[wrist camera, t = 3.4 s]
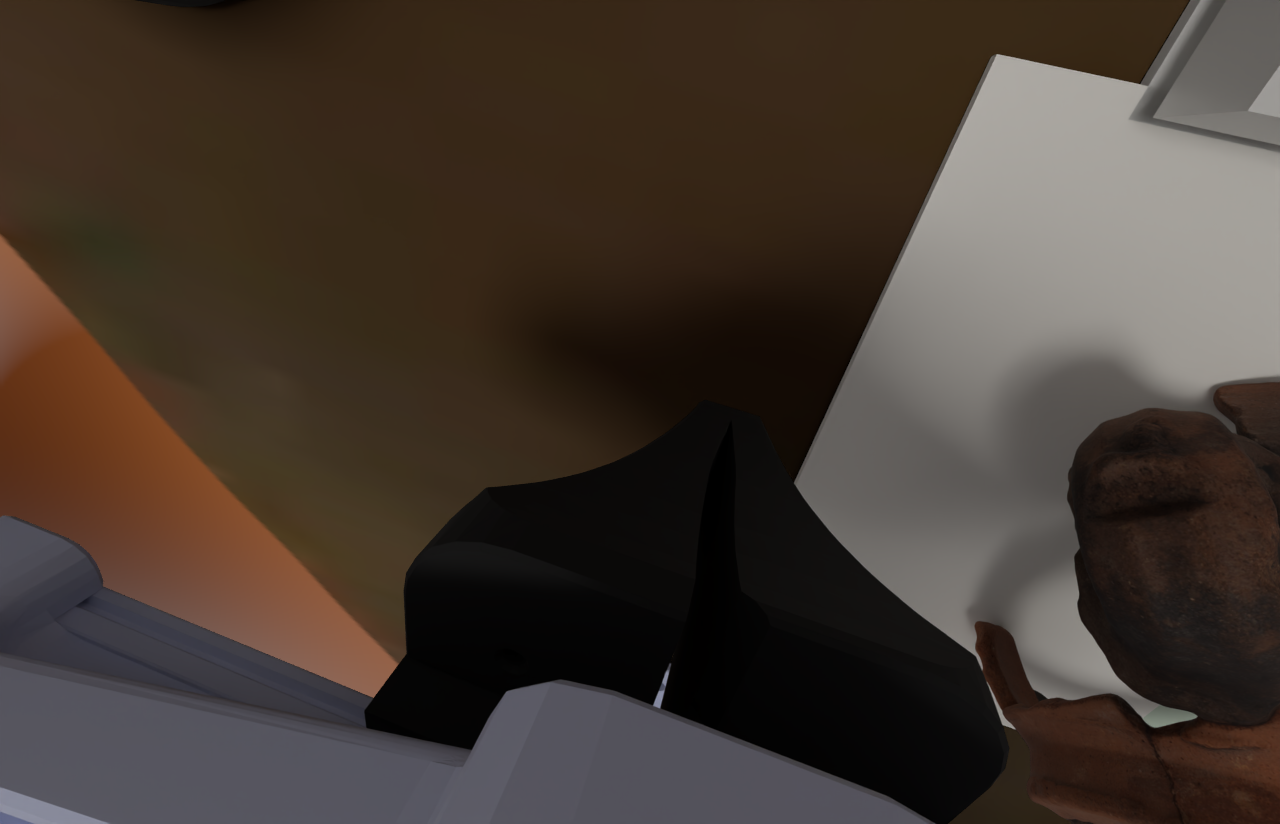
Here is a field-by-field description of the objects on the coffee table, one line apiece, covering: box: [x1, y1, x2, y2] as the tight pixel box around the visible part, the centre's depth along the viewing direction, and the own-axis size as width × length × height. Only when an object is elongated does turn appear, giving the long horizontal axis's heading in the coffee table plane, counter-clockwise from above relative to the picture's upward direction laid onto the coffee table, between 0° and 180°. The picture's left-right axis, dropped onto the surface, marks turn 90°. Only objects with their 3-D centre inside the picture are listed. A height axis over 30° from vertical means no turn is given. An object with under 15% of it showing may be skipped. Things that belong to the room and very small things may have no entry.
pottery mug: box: [974, 382, 1280, 824], centre depth 10 cm, size 12×10×8 cm
